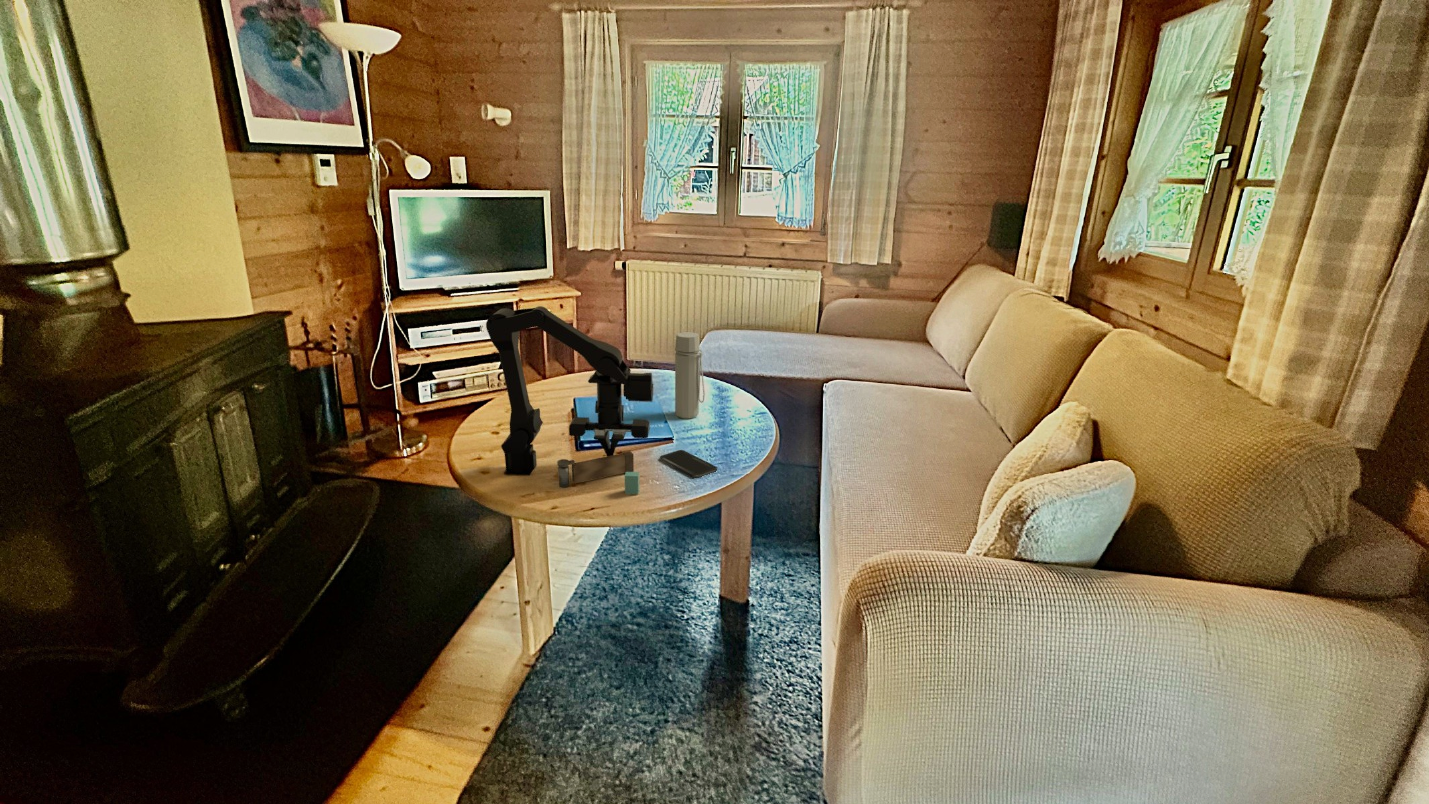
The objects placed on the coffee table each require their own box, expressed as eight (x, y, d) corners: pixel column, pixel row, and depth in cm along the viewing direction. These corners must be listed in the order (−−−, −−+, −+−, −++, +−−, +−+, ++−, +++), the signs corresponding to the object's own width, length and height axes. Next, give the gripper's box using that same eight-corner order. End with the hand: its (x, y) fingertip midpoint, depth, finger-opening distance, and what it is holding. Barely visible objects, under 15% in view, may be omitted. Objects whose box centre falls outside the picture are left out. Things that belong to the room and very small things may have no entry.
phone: (695, 476, 163) (657, 456, 174) (694, 480, 164) (657, 460, 174) (719, 468, 168) (682, 448, 179) (719, 472, 169) (682, 452, 179)
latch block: (625, 494, 156) (624, 475, 154) (626, 489, 158) (625, 471, 156) (638, 494, 156) (637, 476, 154) (639, 489, 158) (638, 472, 156)
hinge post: (558, 487, 158) (557, 469, 156) (560, 483, 160) (559, 464, 159) (568, 488, 158) (567, 469, 156) (570, 483, 160) (569, 465, 159)
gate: (560, 487, 157) (559, 464, 155) (557, 483, 159) (555, 460, 157) (634, 471, 166) (633, 449, 164) (630, 467, 168) (629, 446, 166)
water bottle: (670, 417, 202) (670, 336, 194) (681, 409, 209) (681, 330, 201) (699, 422, 199) (700, 339, 191) (708, 413, 206) (710, 333, 198)
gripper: (651, 390, 168) (651, 447, 174) (576, 387, 168) (578, 445, 173) (647, 405, 158) (647, 466, 163) (567, 403, 158) (569, 464, 163)
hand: (610, 459), depth 166 cm, fingers closed
